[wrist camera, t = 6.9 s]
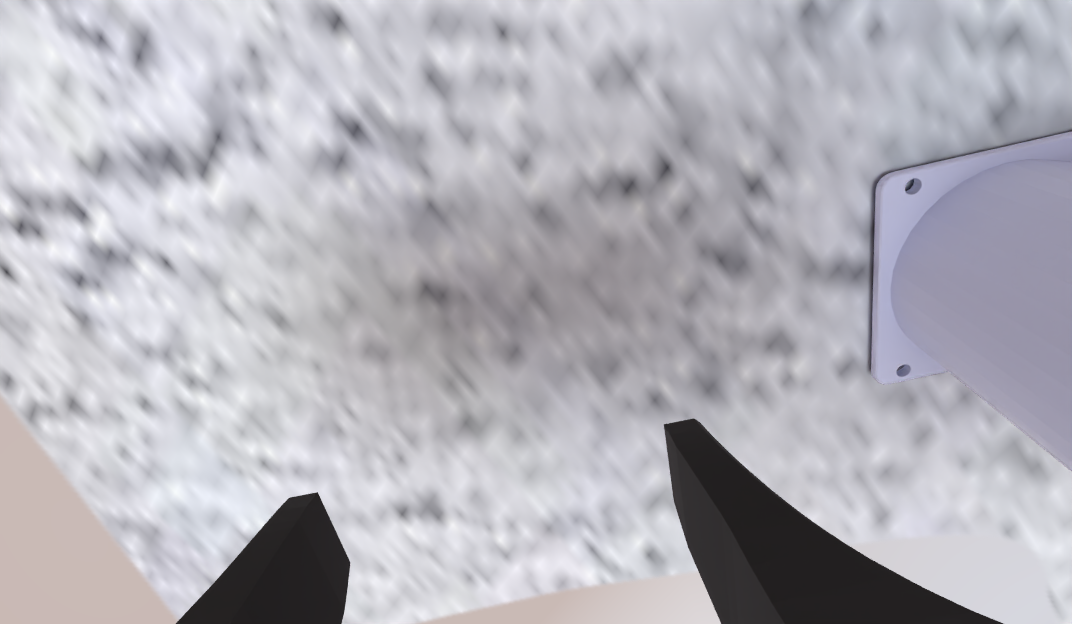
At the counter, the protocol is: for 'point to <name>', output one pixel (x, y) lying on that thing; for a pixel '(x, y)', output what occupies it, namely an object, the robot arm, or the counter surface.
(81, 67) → the counter surface
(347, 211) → the counter surface
